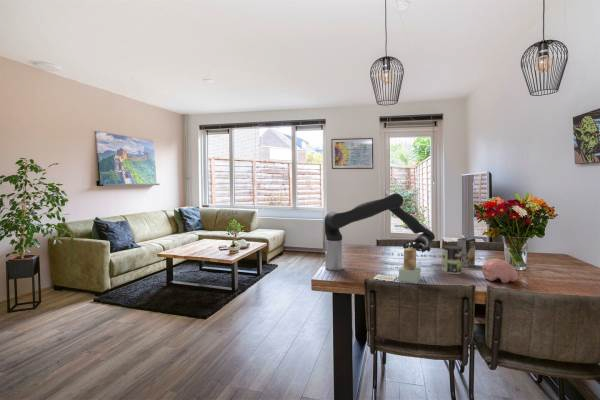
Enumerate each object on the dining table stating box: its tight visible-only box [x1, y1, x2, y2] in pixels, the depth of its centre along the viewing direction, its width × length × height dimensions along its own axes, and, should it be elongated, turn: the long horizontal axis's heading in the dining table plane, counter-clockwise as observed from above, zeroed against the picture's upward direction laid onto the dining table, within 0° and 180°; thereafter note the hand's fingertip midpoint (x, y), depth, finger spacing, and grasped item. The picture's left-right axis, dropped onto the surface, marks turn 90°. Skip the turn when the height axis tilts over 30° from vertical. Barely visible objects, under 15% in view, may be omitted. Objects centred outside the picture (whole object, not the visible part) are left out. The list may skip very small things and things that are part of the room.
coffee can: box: [441, 244, 462, 275], centre depth 181 cm, size 10×10×14 cm
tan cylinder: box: [403, 247, 417, 270], centre depth 167 cm, size 5×5×10 cm
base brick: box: [398, 264, 422, 284], centre depth 168 cm, size 9×9×6 cm
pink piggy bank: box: [481, 258, 518, 284], centre depth 164 cm, size 16×13×12 cm
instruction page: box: [372, 274, 397, 282], centre depth 171 cm, size 10×8×1 cm
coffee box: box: [456, 236, 476, 268], centre depth 193 cm, size 9×6×16 cm
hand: (414, 249), depth 176 cm, fingers open, 8 cm apart
